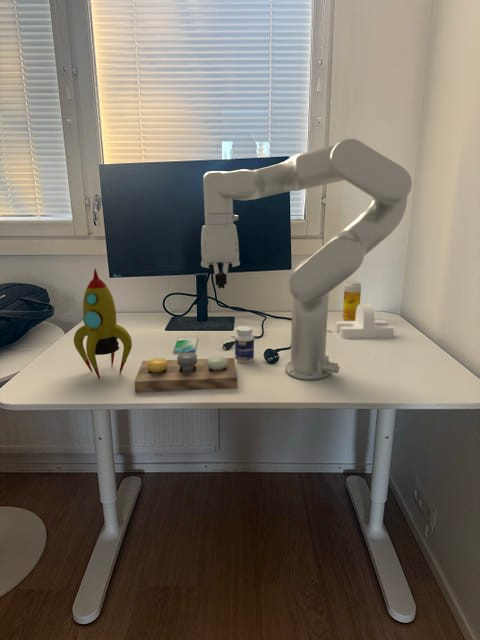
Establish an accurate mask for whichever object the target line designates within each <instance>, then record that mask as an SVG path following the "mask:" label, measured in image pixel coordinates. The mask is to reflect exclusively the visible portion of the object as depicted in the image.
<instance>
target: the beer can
mask: <svg viewBox="0 0 480 640" xmlns="http://www.w3.org/2000/svg"><path fill="white" fill-rule="evenodd" d="M361 284H362V283H361V282H360V281H356V280H350V281H349V280H348V281H346V282H345V284H344V290H343V293H344V294H343V305H342V306H343V308H342V319H343V321H355V317H356V309H357V306H358V305H361V293H362V292H361V291H362V285H361Z"/></svg>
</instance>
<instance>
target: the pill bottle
mask: <svg viewBox="0 0 480 640" xmlns="http://www.w3.org/2000/svg"><path fill="white" fill-rule="evenodd" d="M235 332H236V333H237V334H236V335H235V336H234V359H235V362H239V363H251V362H252V361H254V359H255V337H254V335H253V334H252V333H253V327H251V326H248V325H247V326H246V325H242V326H237V327H236V331H235Z"/></svg>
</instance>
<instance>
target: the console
mask: <svg viewBox="0 0 480 640" xmlns="http://www.w3.org/2000/svg"><path fill="white" fill-rule="evenodd" d="M225 358H226V359H227V367H226V368H224V369H223V371H212V369H210V368H208V362H207V360H208V358H197V363H196V364H195V365H193V372H182V366H180V365H178V362H177V359H166V360H167V369H166V370H164V371H163V372H164V373H152V371H149V370H148V367H147V362H148V361H149V360H142V362H141V365H140V367H139V369H138V372H137V374H136V376H135V380H134V388H135V393H152V392H153V393H155V392H176V391H177V392H178V391H203V390H230V389H238V373H237V367H236V366H237V365H236V359H235V357H225Z"/></svg>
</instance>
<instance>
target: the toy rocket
mask: <svg viewBox="0 0 480 640" xmlns="http://www.w3.org/2000/svg"><path fill="white" fill-rule="evenodd" d="M115 306H116V305H115V302H114V298H113V295H112V293H111V291H110V289H109V287H108V286H107V285H106V284H105V282H104V281H103V279H100V278H99V275H98V272H97V269H96V268H94V271H93V278H92V279H91V280H90V281H89V283H88V285H87V287H86V288H85V291H84V296H83V303H82V313H83V317H82V322H83V323H84V324H83V325H82V326H81V327H79V328H78V329H77V330H76V331H75V333H74V336H73V343H74V344H73V345H74V347H75V349H76V352H78V354H79V355H80V357H81V359H83V360H82V361H83V362H84V363H85V365H86V366H87V368H88V369H89V371H90V373H93V371H94V372H95V374H96V376H97V378H98V379H99V380H100V379H101V378H100V377H101V375H100V373H99V372H100V371H99V367H98V366H99V365H98V361H97V358H96V356H104V355H110V358H111V359H110V360H111V362H110V364H111V368H113V367H114V366H113V365H114V359H115V354H116V352H117V351H119V350H120V346H119V344H120V343H119V341H118V340H120V341H121V343H122V346H123V351H122V357H121V363H120V367H119V374H121V373H122V371H123V369H124V366H125V364H126V361H127V359H128V358H129V355H130V353H131V350H132V348H133V343H132V342H133V341H132V337H131V335H130V333H129V331H127V330H126V328H124V327H123V326H121V325H120V324H117V310H116V307H115ZM86 337H87V338H86ZM85 338H86V343H85V346H86V349H85V347H84V343H83V342H84V339H85Z"/></svg>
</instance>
